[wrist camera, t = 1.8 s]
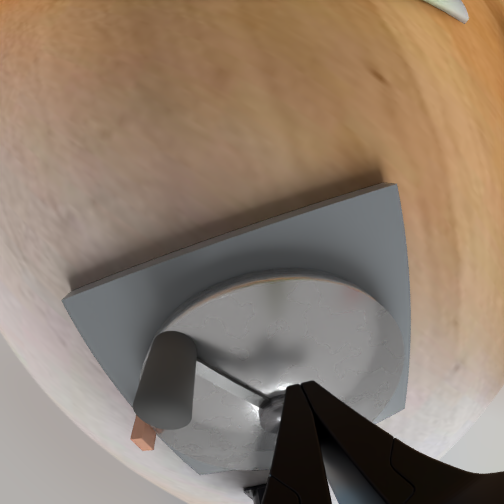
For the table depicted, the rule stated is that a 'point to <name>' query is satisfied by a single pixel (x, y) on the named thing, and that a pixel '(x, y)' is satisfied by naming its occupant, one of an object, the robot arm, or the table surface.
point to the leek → (451, 8)
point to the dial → (264, 361)
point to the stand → (241, 262)
